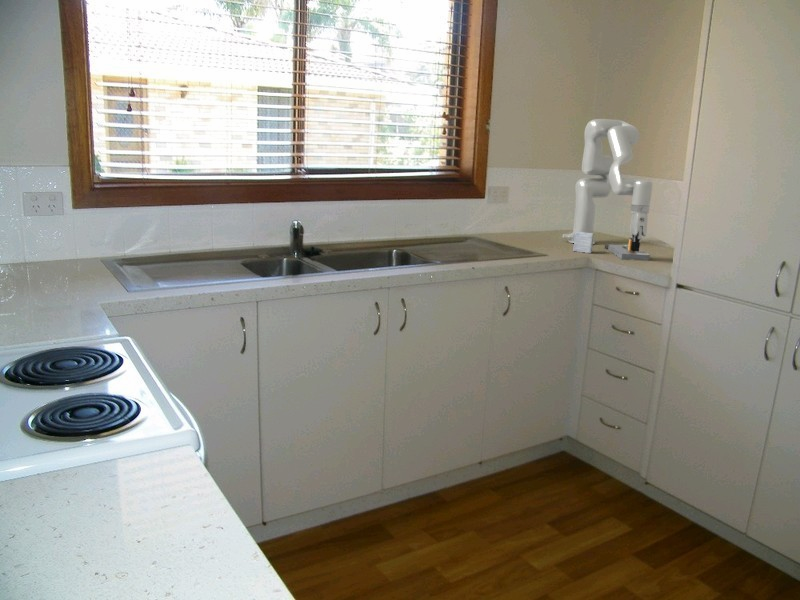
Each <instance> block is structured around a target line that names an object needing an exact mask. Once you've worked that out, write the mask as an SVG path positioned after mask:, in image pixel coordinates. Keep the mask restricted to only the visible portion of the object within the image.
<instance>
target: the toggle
mask: <svg viewBox="0 0 800 600" xmlns="http://www.w3.org/2000/svg"><path fill="white" fill-rule="evenodd" d="M631 242H633V241H632V237H629V238H628V244H627V245H628V250H629V251H630V252H631V253H634V251H631Z"/></svg>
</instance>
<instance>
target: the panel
mask: <svg viewBox="0 0 800 600" xmlns="http://www.w3.org/2000/svg"><path fill="white" fill-rule="evenodd" d="M608 245H609V246H608V249H607V250H608V251H609V250H610V251H609V252H611V253H612V254H613V253H614V255H615V256H616V255H617V258H619V259H621V260H628V259H634V260H633V261H648V260H649V261H650V257H651V255H650V254H649V253H647V252H646V251H644V250H643V249H640V248H639V251H634V253H631V252H630V251H629V250H628V244H623V245H622V244H608Z"/></svg>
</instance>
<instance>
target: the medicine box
mask: <svg viewBox="0 0 800 600" xmlns="http://www.w3.org/2000/svg"><path fill="white" fill-rule="evenodd" d="M594 236H595V235H594V233H593V234H592V233H583V232H576V233H575V237H574V244H573V246H572V247H573V248H572V252H573V251H577V252H576V253H582V252H585V254H592V252H593V245H594V244H593V241H594Z"/></svg>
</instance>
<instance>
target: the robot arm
mask: <svg viewBox="0 0 800 600" xmlns="http://www.w3.org/2000/svg"><path fill="white" fill-rule="evenodd" d="M639 131H640V130H638V128H637V127H636V126H634V125H632V124H630V123H628V122H626V121H624V120H621V119H610V118H609V119H607V118H595V119H591V120H589V121H588V122H587V124H586V126H585V128H584V135H583V136H584V138H583V139H584V147H583V155H582V162H581V171H582V173H583V174H584V175H586V176H598V177H582V178H580V179H578V180H577V181H576V182H575V186H574V188H575V189H574V190H575V206H574V217H573V218H574V219H573V224H572V225H573V228H572V232H570V233H569V234H568V233H563V234H562V238H563V239H568V243H571V244H573V243H574V237H575V233H576V232H583V233H592V234H594V226H595V216H596V204H595V202H594V199H603V198H604V199H605V198H607V197H608V196H610V194H611V192H613V193H614V194H615V195H617V196H630V197H631V196H632V197H631V205H630V213H631V217H630V224H629V233H630V234H631V238H632V241H633V242H631V251H639V249H640V247H641V246H640V245H641V240H642V237H646V236H647V231H648V214H649V213H650V206H651V198H652V197H651V196H652V190H653V189H652V188H653V182H652V181H651V180H647V179H641V178H637V177H636V178H635V177H622V174H621V166H623V165H625V164H627V163H629V162H630V161H631V160H632V159H633V158H634V153H633V150H632V147H631V146H635V145H637V143H638V142H639V140H640V132H639ZM602 138H603V139H607V140H608V144H609V148H610V152H611V155H612V156H611V155H603V149H604V145H603V142H602V140H601V139H602ZM595 244H596V241H595V240H593V245H595Z"/></svg>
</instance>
